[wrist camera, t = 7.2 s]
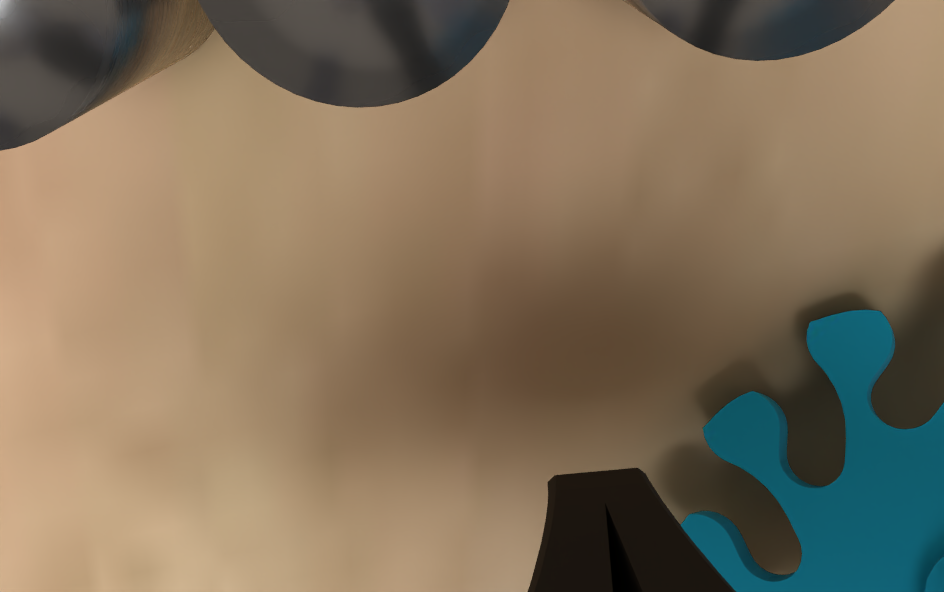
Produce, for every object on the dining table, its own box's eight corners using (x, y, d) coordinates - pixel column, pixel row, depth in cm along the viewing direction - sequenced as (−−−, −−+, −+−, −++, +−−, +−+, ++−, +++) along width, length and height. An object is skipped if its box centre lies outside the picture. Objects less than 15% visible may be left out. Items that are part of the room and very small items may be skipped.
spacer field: (796, -265, 11) (993, -365, 7) (749, 738, 19) (823, 961, 15) (-32, -154, 11) (-313, -182, 7) (280, 775, 20) (232, 1000, 16)
